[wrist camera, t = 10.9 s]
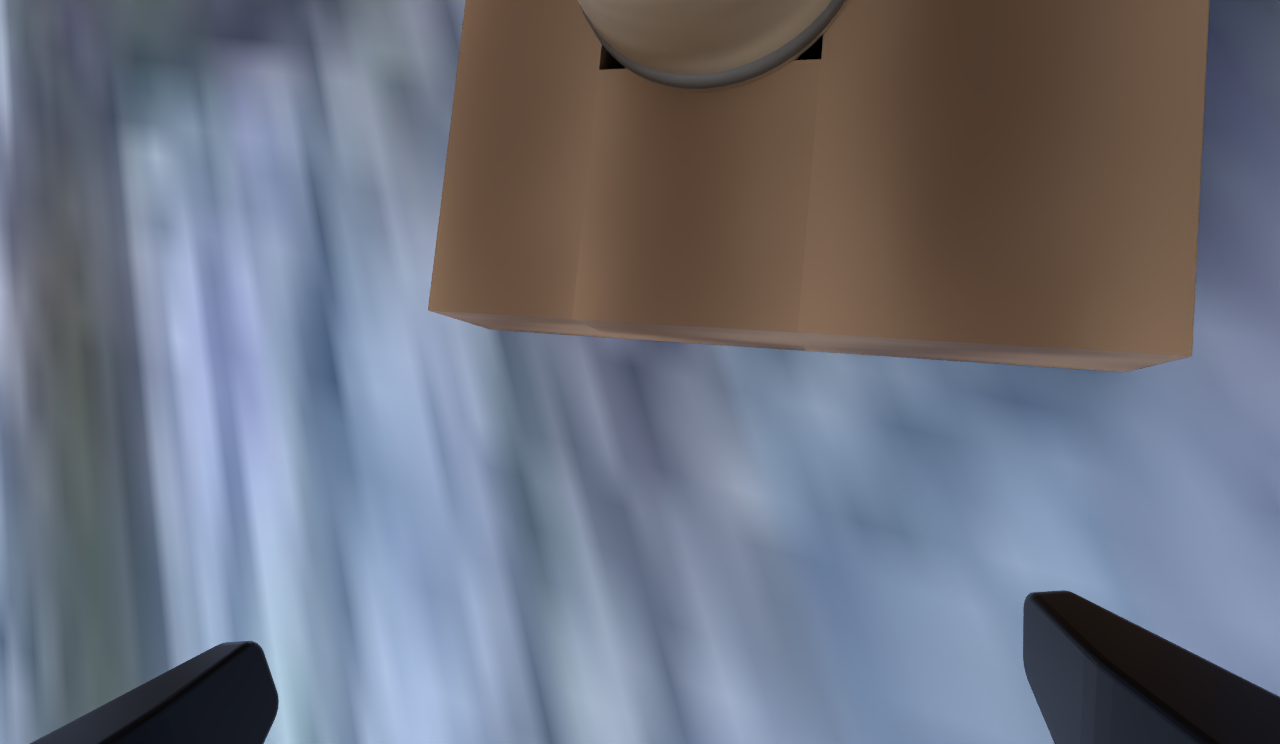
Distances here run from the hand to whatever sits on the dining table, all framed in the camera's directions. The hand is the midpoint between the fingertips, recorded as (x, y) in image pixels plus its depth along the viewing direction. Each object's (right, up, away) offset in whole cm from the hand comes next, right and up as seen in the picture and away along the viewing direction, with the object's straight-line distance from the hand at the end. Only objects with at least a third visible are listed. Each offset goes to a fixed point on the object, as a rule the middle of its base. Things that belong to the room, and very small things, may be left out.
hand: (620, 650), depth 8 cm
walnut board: (+4, +13, +9) cm, 16 cm away
